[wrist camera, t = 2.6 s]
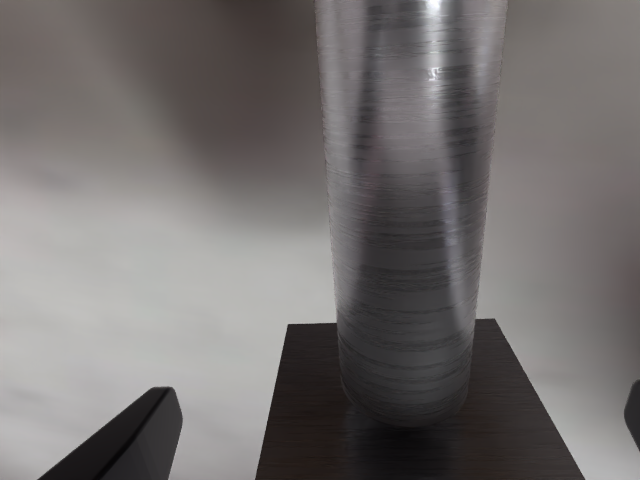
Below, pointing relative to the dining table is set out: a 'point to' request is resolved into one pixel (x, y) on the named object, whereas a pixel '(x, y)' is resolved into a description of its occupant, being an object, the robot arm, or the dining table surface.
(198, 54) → the dining table surface
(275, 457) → the shaft
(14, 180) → the dining table surface
